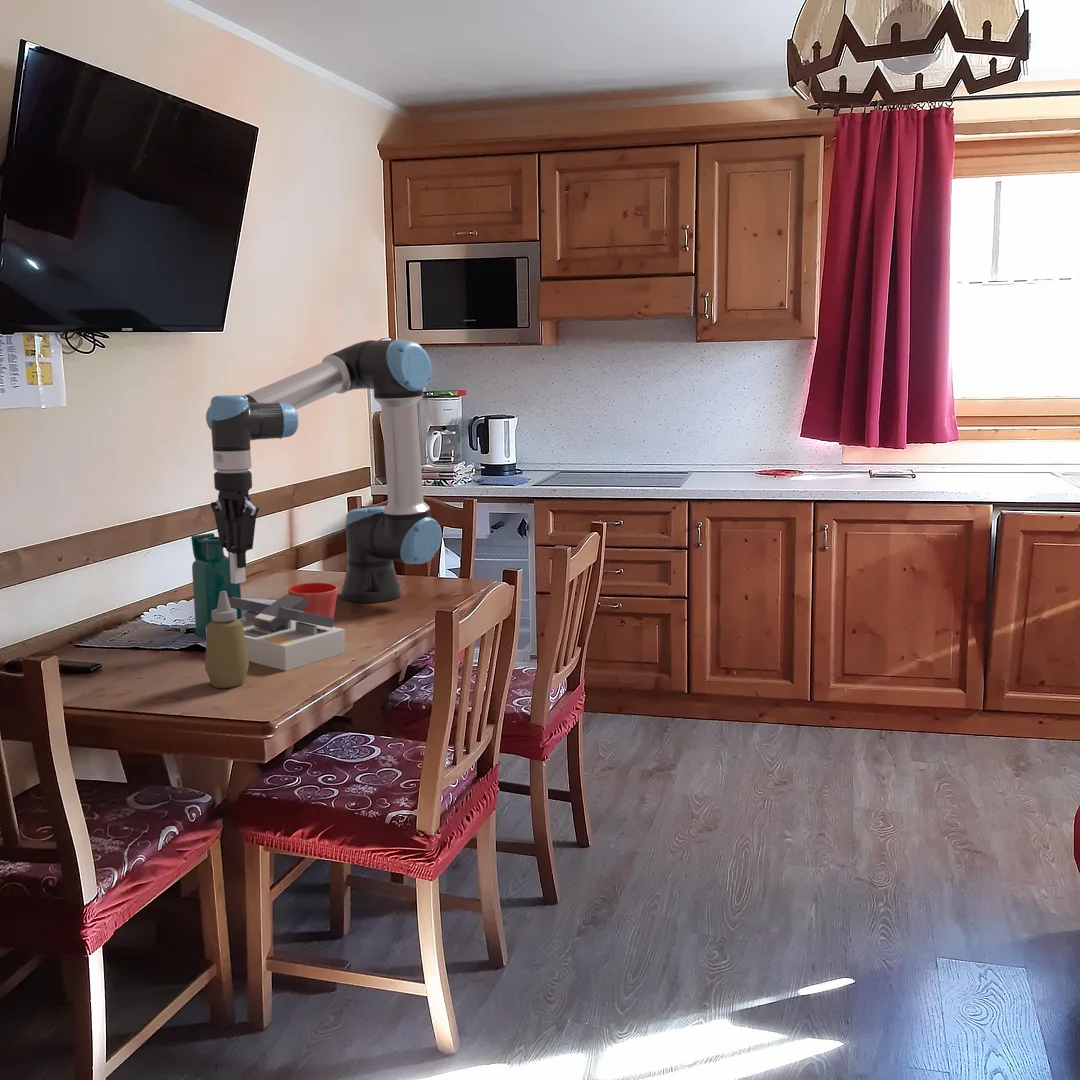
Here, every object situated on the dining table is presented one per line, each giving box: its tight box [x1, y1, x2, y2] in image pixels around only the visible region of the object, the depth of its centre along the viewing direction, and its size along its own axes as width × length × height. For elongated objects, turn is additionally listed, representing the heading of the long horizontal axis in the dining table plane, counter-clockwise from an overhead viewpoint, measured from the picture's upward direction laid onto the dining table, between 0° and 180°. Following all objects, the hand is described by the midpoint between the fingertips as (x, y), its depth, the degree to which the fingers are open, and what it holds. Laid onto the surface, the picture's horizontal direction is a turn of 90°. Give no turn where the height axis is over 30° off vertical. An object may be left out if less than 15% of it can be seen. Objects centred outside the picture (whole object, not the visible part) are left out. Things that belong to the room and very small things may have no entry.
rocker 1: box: [229, 597, 271, 613], centre depth 227 cm, size 10×6×2 cm, turn 145°
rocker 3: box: [277, 607, 335, 628], centre depth 218 cm, size 10×6×2 cm, turn 145°
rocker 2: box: [252, 593, 308, 631], centre depth 223 cm, size 10×6×2 cm, turn 143°
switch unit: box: [205, 610, 347, 672], centre depth 222 cm, size 16×25×7 cm, turn 54°
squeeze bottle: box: [204, 591, 250, 689], centre depth 200 cm, size 8×8×18 cm
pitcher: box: [190, 532, 243, 638], centre depth 235 cm, size 10×8×22 cm
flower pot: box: [287, 582, 339, 619], centre depth 240 cm, size 11×11×10 cm
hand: (238, 582), depth 223 cm, fingers closed
